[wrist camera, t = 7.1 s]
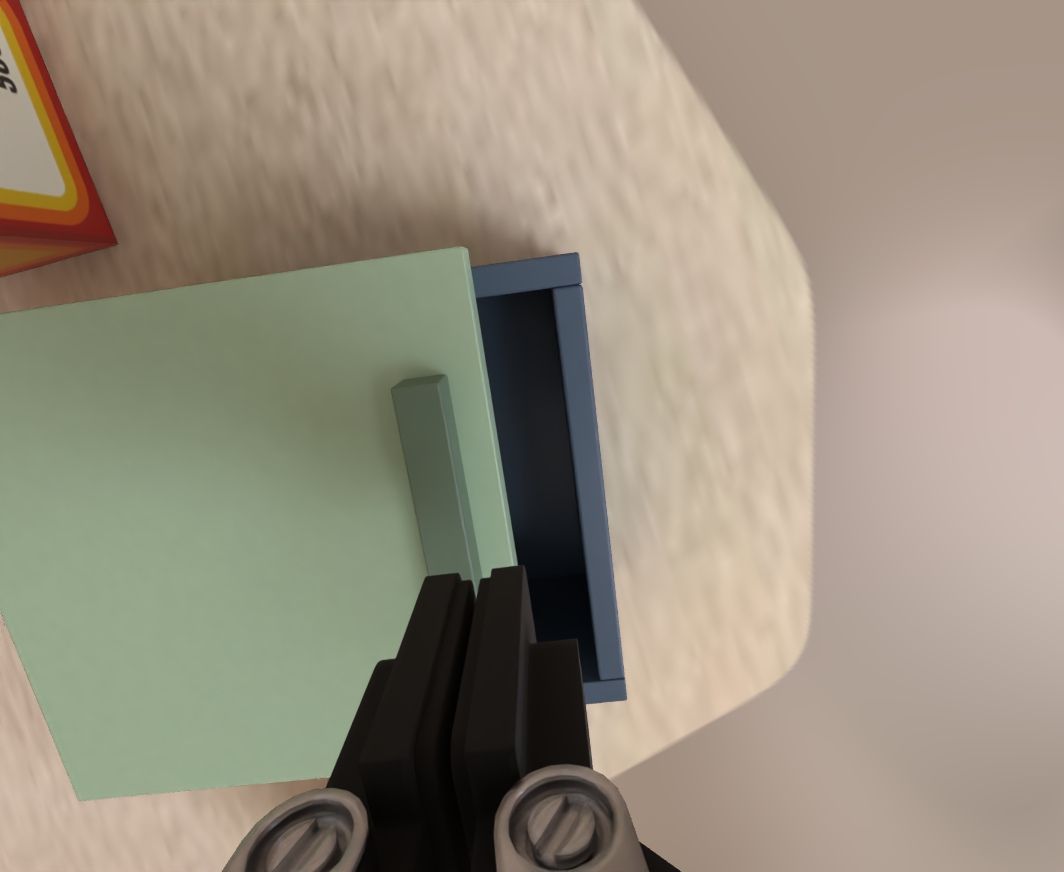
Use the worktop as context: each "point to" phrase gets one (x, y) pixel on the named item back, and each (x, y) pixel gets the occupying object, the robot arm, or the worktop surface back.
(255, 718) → the bin lid
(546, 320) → the storage bin
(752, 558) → the worktop surface
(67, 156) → the baking soda box
